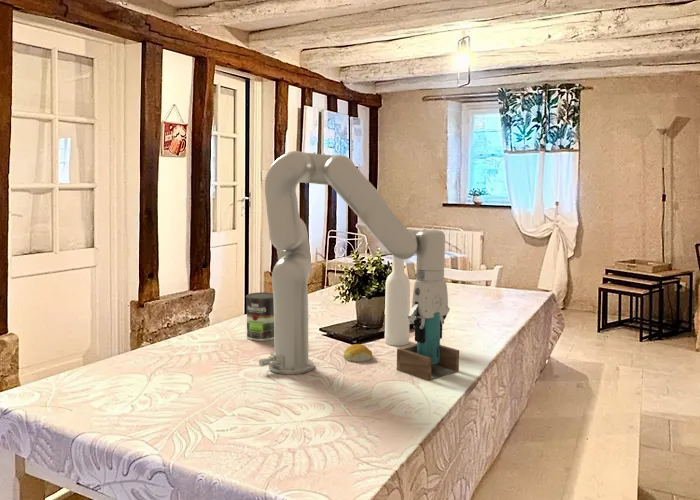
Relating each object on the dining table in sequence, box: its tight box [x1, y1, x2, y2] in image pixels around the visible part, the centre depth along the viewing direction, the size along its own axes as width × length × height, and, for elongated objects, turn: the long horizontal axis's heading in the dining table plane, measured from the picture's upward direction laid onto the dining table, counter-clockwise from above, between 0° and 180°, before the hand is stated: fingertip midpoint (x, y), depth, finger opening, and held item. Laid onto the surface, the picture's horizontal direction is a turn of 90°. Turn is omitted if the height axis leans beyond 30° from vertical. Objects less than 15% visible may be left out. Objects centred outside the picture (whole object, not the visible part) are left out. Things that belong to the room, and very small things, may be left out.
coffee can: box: [245, 291, 274, 342], centre depth 207 cm, size 10×10×14 cm
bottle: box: [384, 254, 411, 347], centre depth 200 cm, size 8×8×30 cm
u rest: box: [396, 343, 460, 381], centre depth 174 cm, size 12×12×6 cm
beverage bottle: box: [416, 312, 442, 364], centre depth 173 cm, size 6×7×20 cm
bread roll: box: [343, 343, 373, 363], centre depth 186 cm, size 8×9×4 cm
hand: (428, 339), depth 173 cm, fingers closed on beverage bottle, 6 cm apart
